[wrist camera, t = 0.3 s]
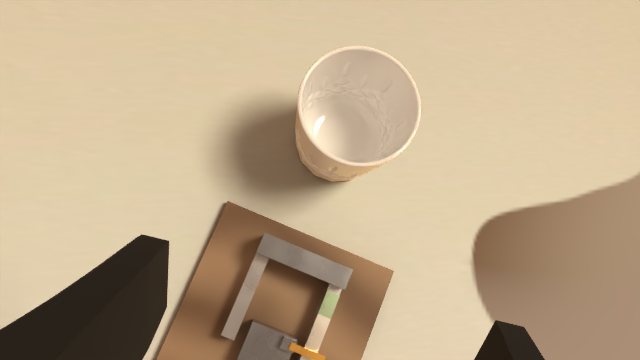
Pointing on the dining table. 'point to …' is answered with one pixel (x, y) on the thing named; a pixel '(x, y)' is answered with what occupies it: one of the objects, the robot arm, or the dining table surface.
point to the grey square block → (272, 344)
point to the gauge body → (304, 263)
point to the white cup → (355, 112)
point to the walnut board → (271, 294)
